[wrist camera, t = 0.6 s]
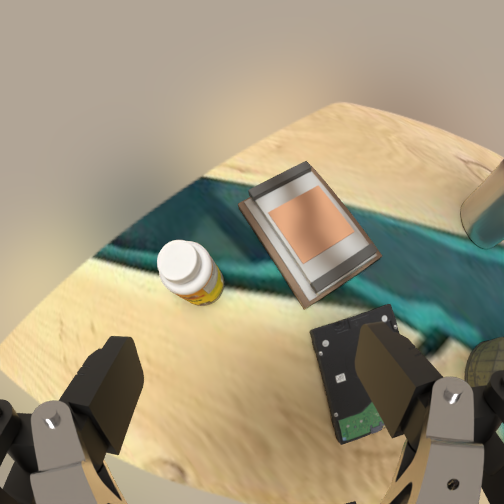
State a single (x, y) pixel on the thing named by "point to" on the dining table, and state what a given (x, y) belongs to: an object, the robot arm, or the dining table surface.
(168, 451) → the dining table surface
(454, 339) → the dining table surface
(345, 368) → the disk drive
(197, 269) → the supplement bottle
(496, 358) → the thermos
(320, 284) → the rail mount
